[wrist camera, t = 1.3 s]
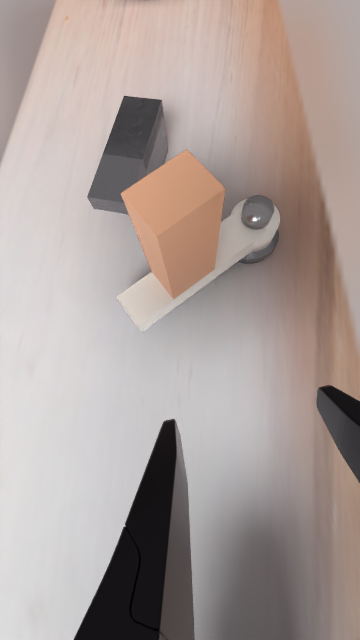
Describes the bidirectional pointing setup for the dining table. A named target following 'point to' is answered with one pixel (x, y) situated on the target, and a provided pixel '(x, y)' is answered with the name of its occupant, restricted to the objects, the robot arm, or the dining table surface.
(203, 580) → the dining table surface
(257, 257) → the pintle plate
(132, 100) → the dark grey block
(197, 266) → the link
